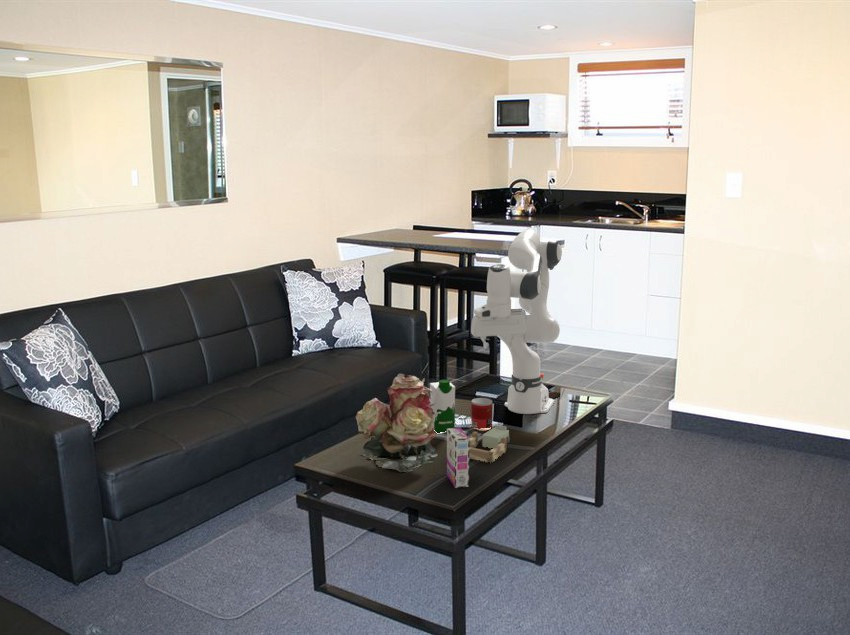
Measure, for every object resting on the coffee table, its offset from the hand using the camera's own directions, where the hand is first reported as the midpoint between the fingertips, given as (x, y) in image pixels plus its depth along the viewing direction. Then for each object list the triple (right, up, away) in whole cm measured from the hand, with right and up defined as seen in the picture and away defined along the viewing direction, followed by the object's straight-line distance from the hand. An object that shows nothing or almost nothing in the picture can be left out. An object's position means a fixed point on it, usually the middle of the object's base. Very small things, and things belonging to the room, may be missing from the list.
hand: (498, 346), depth 297 cm
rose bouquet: (-35, -38, -15) cm, 54 cm away
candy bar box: (-16, -42, -34) cm, 57 cm away
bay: (-7, -37, -12) cm, 39 cm away
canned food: (-5, -32, +13) cm, 35 cm away
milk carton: (-20, -32, +12) cm, 40 cm away
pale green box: (-1, -35, -3) cm, 35 cm away
